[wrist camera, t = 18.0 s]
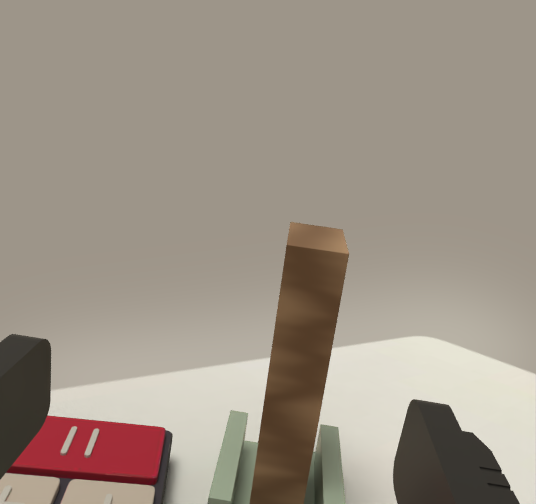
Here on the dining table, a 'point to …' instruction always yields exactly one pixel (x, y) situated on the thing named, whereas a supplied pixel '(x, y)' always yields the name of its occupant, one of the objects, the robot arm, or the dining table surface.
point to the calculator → (90, 464)
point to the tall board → (299, 362)
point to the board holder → (244, 457)
